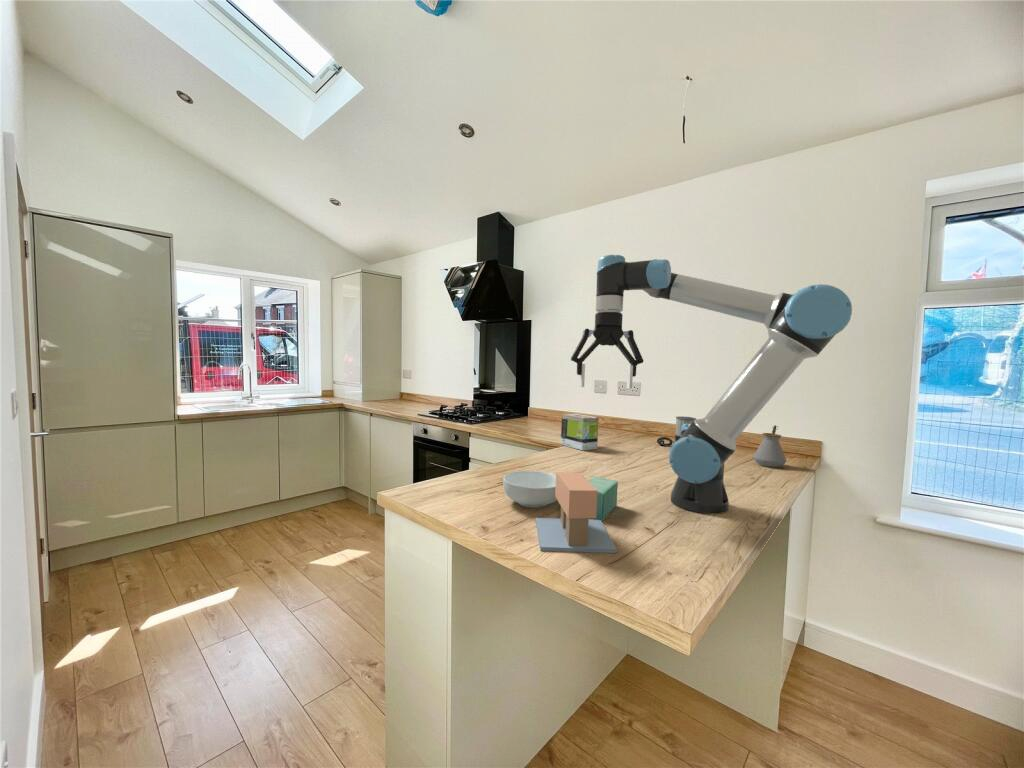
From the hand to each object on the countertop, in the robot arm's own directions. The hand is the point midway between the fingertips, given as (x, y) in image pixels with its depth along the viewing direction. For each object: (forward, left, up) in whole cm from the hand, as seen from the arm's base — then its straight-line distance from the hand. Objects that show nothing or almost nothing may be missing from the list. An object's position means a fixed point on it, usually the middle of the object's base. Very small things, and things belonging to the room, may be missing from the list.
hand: (605, 387), depth 119 cm
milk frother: (-54, -81, -33) cm, 103 cm away
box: (+3, +9, -33) cm, 34 cm away
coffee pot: (-83, -53, -33) cm, 104 cm away
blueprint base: (+12, +25, -33) cm, 43 cm away
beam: (+12, +25, -26) cm, 38 cm away
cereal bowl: (+20, +4, -33) cm, 39 cm away
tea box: (-6, -74, -33) cm, 81 cm away
